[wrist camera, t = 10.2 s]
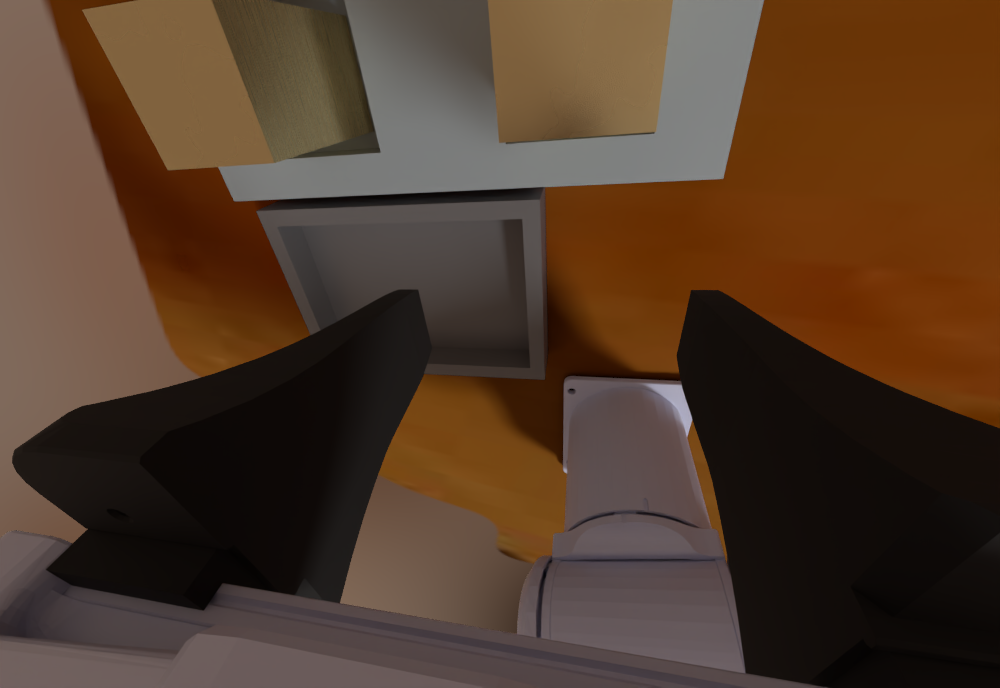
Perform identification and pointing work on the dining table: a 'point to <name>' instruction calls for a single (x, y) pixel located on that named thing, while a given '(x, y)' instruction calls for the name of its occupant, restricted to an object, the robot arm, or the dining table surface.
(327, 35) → the block
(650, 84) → the block
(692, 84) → the grey pocketed tray
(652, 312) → the dining table surface
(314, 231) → the grey shallow rectangular tray
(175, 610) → the robot arm
